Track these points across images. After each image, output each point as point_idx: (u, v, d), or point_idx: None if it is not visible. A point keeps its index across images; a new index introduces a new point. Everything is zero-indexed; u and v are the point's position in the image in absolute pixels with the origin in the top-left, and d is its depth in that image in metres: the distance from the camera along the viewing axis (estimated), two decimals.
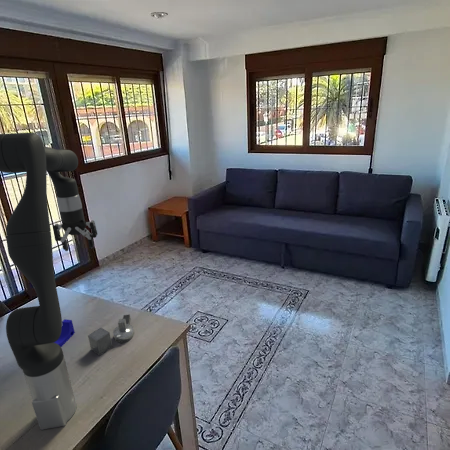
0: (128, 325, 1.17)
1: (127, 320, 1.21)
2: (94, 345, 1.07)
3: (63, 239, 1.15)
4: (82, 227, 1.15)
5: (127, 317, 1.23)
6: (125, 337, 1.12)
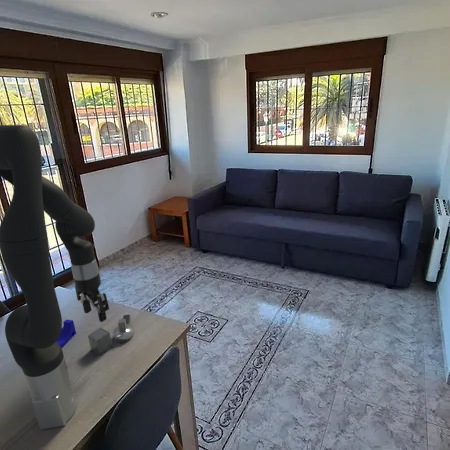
0: (128, 325, 1.17)
1: (127, 320, 1.21)
2: (94, 345, 1.07)
3: None
4: None
5: (127, 317, 1.23)
6: (125, 337, 1.12)
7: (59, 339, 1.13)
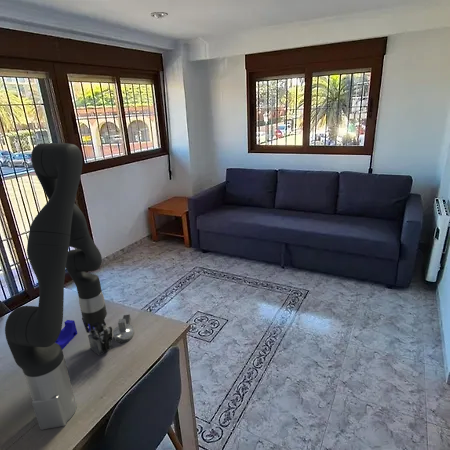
0: (128, 325, 1.17)
1: (127, 320, 1.21)
2: (94, 345, 1.07)
3: None
4: None
5: (127, 317, 1.23)
6: (125, 337, 1.12)
7: (60, 339, 1.13)
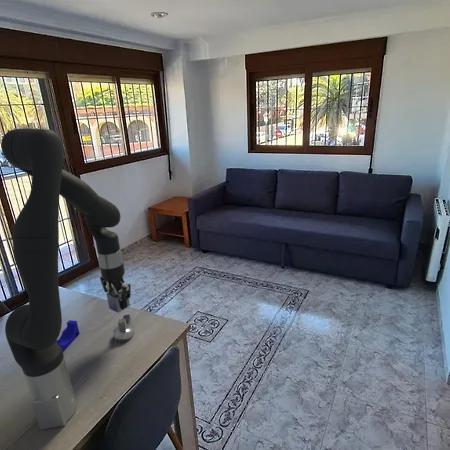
0: (128, 325, 1.17)
1: (127, 320, 1.21)
2: (113, 303, 1.08)
3: None
4: None
5: (127, 317, 1.23)
6: (125, 337, 1.12)
7: (63, 340, 1.12)
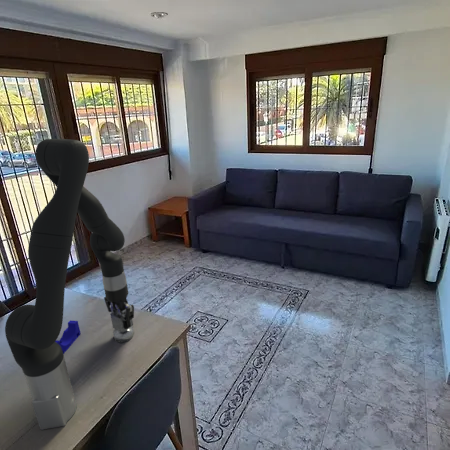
0: None
1: None
2: (116, 323, 1.11)
3: None
4: None
5: None
6: (125, 337, 1.12)
7: (64, 340, 1.12)
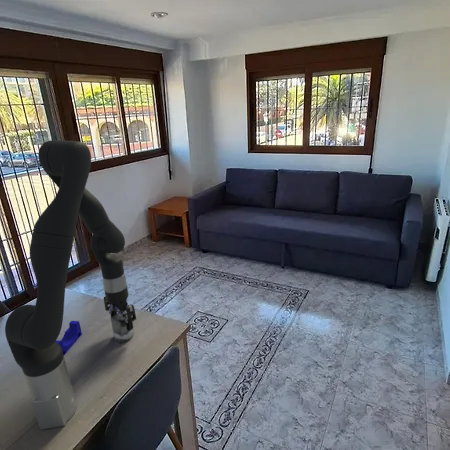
0: None
1: None
2: (116, 327, 1.11)
3: None
4: None
5: None
6: (125, 337, 1.12)
7: (65, 340, 1.12)
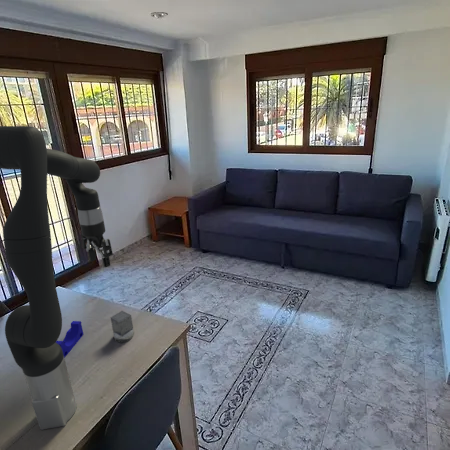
0: None
1: None
2: (116, 327, 1.11)
3: None
4: None
5: None
6: (125, 337, 1.12)
7: (67, 341, 1.12)
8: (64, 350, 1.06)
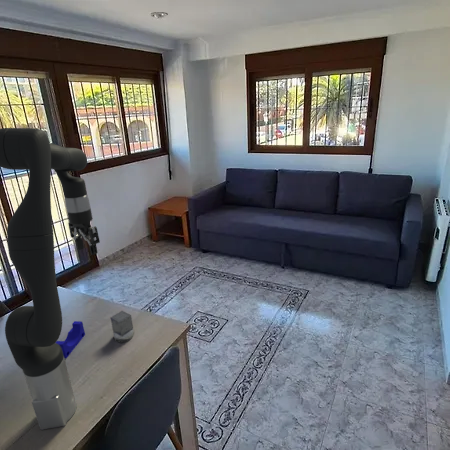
0: None
1: None
2: (116, 327, 1.11)
3: None
4: None
5: None
6: (125, 337, 1.12)
7: (69, 341, 1.12)
8: (66, 350, 1.06)
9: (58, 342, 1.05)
